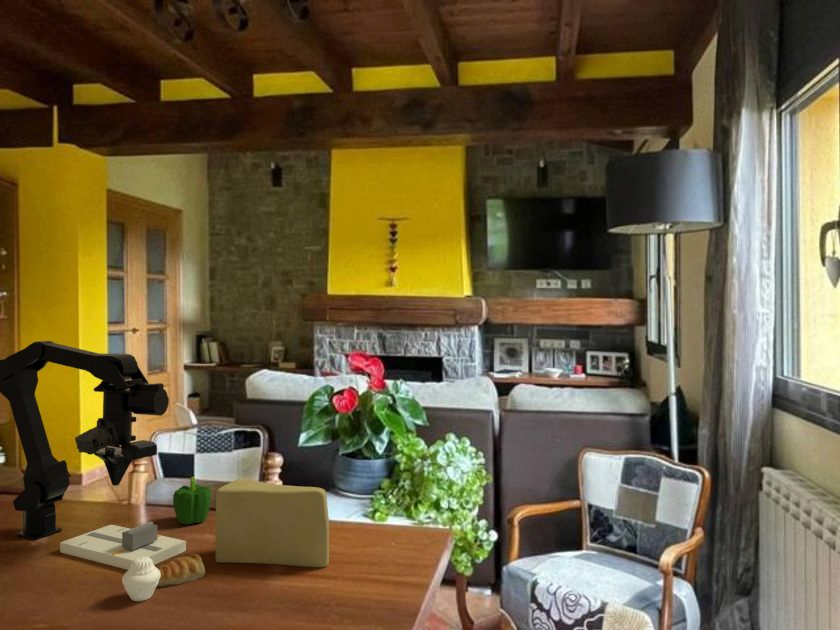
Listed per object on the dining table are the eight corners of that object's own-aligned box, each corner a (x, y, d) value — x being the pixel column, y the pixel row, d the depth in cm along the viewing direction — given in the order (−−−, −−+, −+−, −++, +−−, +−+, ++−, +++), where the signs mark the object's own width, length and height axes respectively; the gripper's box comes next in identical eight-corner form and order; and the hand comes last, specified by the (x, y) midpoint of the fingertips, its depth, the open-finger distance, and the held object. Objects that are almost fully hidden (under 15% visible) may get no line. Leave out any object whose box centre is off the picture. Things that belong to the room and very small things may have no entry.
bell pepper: (203, 528, 144) (204, 484, 144) (167, 527, 144) (168, 483, 144) (216, 516, 153) (216, 474, 153) (182, 515, 153) (182, 474, 153)
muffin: (132, 588, 113) (132, 549, 113) (166, 589, 113) (166, 550, 113) (114, 605, 107) (115, 563, 107) (150, 606, 107) (151, 564, 107)
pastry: (157, 593, 112) (157, 571, 112) (143, 581, 117) (143, 560, 117) (208, 578, 118) (208, 557, 118) (192, 567, 123) (192, 547, 123)
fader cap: (122, 547, 126) (122, 529, 126) (146, 537, 131) (146, 520, 131) (132, 549, 125) (133, 532, 125) (157, 540, 130) (157, 522, 130)
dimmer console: (60, 552, 129) (60, 541, 129) (111, 533, 140) (111, 523, 140) (137, 572, 120) (137, 560, 120) (185, 550, 131) (185, 540, 131)
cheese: (337, 557, 128) (338, 483, 128) (317, 577, 119) (318, 497, 119) (239, 546, 134) (239, 475, 134) (213, 563, 125) (213, 487, 124)
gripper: (54, 413, 134) (52, 487, 134) (113, 423, 125) (111, 502, 125) (101, 406, 144) (99, 475, 144) (159, 415, 135) (157, 488, 135)
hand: (115, 485), depth 137 cm, fingers closed
